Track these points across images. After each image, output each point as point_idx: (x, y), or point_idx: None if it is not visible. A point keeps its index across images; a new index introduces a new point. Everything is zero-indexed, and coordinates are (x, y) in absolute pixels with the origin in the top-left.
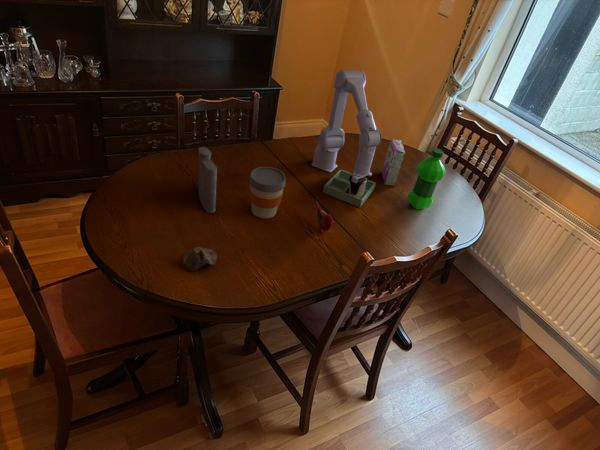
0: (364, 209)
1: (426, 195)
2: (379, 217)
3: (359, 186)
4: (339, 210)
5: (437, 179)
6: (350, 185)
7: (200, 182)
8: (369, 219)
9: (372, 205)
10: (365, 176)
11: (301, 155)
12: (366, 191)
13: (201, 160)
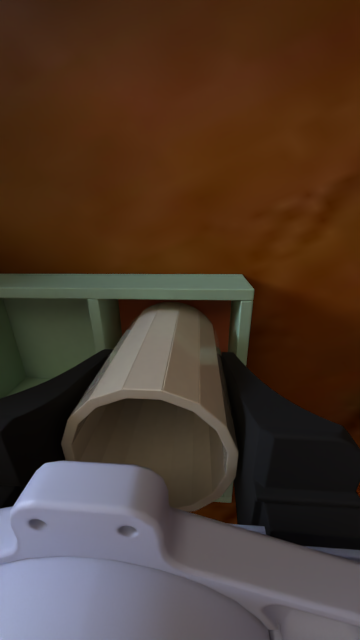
0: (245, 241)
1: None
2: (285, 94)
3: (302, 410)
4: (340, 358)
5: None
6: (190, 430)
7: None
8: (354, 159)
9: (163, 212)
10: (51, 428)
11: None
12: (102, 304)
13: None
